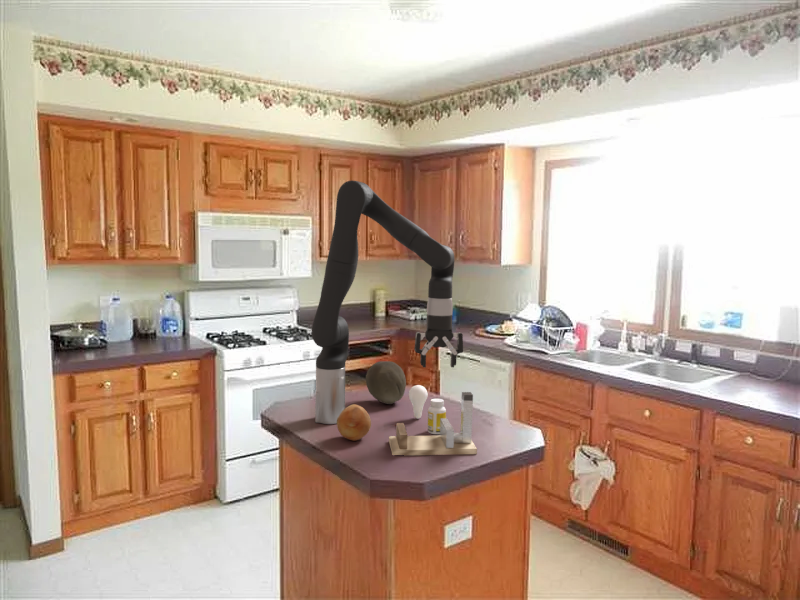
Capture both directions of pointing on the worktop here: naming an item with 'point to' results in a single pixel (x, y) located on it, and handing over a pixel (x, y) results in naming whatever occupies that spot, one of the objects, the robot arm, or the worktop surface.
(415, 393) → the lightbulb
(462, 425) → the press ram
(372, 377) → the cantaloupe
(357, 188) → the robot arm
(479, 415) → the worktop surface
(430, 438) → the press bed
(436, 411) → the supplement bottle
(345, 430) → the onion
